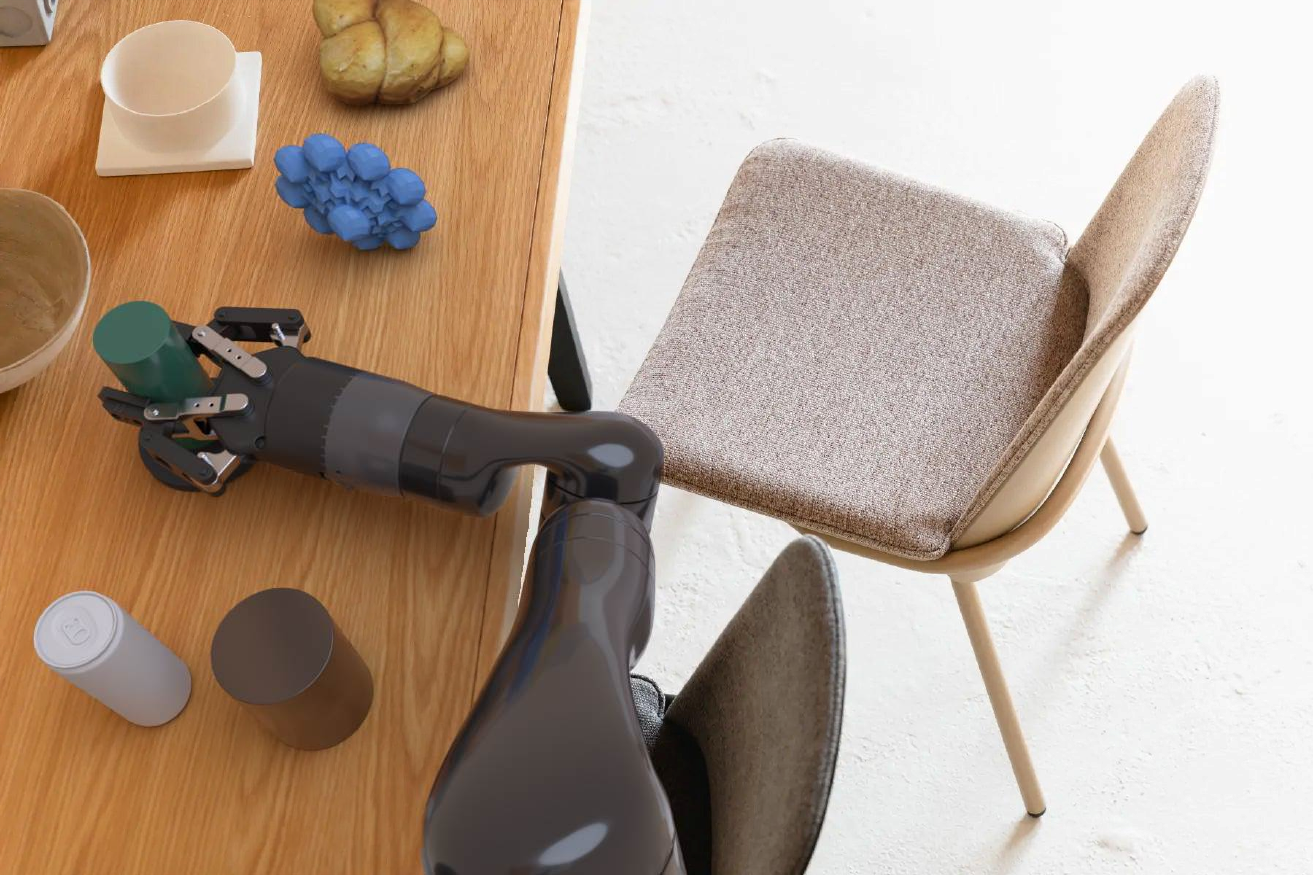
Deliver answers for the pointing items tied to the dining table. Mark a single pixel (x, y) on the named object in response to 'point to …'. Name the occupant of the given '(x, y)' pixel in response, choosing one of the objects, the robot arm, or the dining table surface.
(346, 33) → the bread roll
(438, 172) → the dining table surface
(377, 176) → the grapes
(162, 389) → the tea tin
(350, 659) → the stand
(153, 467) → the mat
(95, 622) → the beverage can
